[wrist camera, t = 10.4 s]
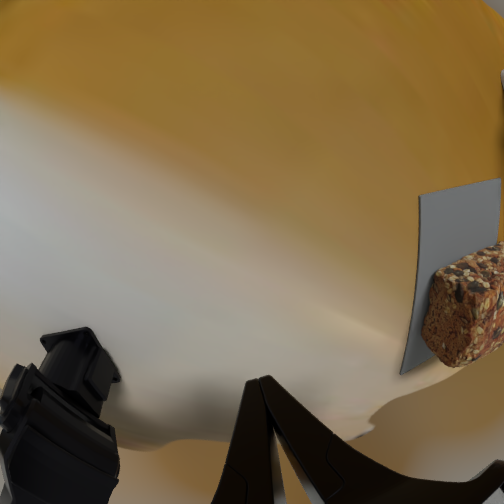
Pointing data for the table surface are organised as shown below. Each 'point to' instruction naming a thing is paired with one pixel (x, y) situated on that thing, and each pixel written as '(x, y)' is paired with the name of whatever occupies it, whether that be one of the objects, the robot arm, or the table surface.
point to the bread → (467, 308)
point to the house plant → (502, 78)
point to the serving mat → (448, 246)
